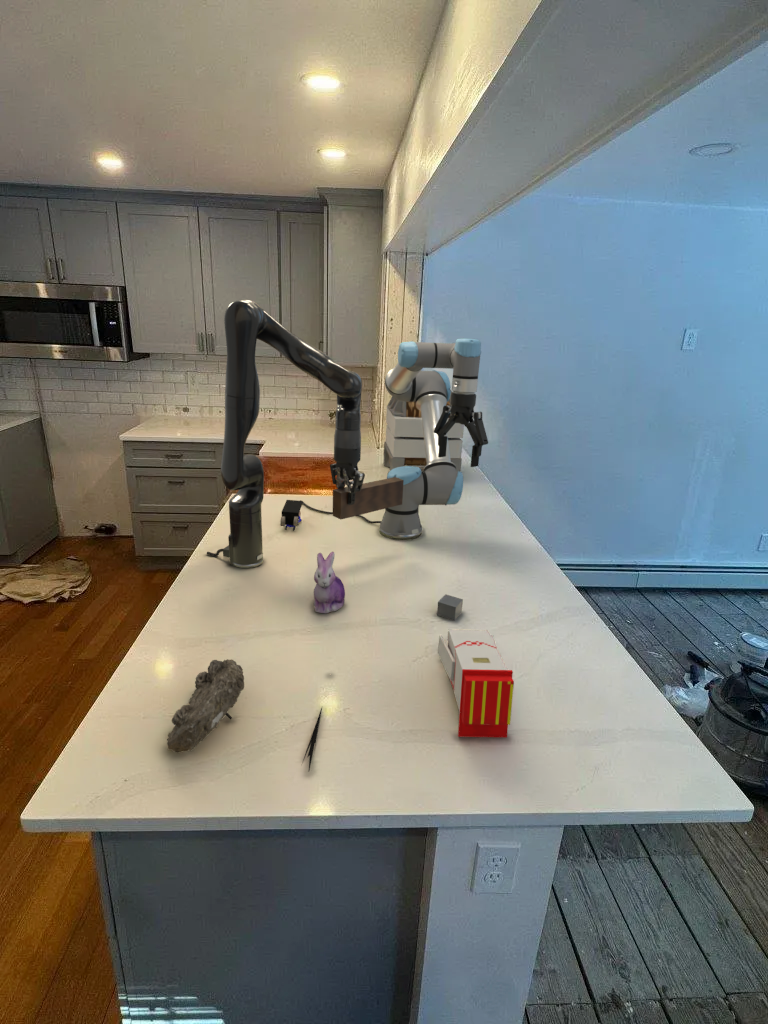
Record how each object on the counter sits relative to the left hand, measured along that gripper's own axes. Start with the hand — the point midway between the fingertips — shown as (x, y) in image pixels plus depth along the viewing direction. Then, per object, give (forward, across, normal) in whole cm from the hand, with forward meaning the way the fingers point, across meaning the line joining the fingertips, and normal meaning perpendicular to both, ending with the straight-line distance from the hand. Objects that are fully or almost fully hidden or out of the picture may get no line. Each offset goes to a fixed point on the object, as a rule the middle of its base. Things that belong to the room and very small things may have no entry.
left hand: (346, 501), depth 165 cm
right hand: (-10, +10, +36) cm, 38 cm away
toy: (+21, +63, -14) cm, 68 cm away
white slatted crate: (+21, -64, +93) cm, 115 cm away
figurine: (+21, +16, -17) cm, 32 cm away
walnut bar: (+4, 0, +9) cm, 10 cm away
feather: (+21, +51, -44) cm, 71 cm away
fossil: (+21, +38, -60) cm, 74 cm away
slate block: (+21, +38, +6) cm, 44 cm away
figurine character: (+21, -39, +6) cm, 45 cm away
